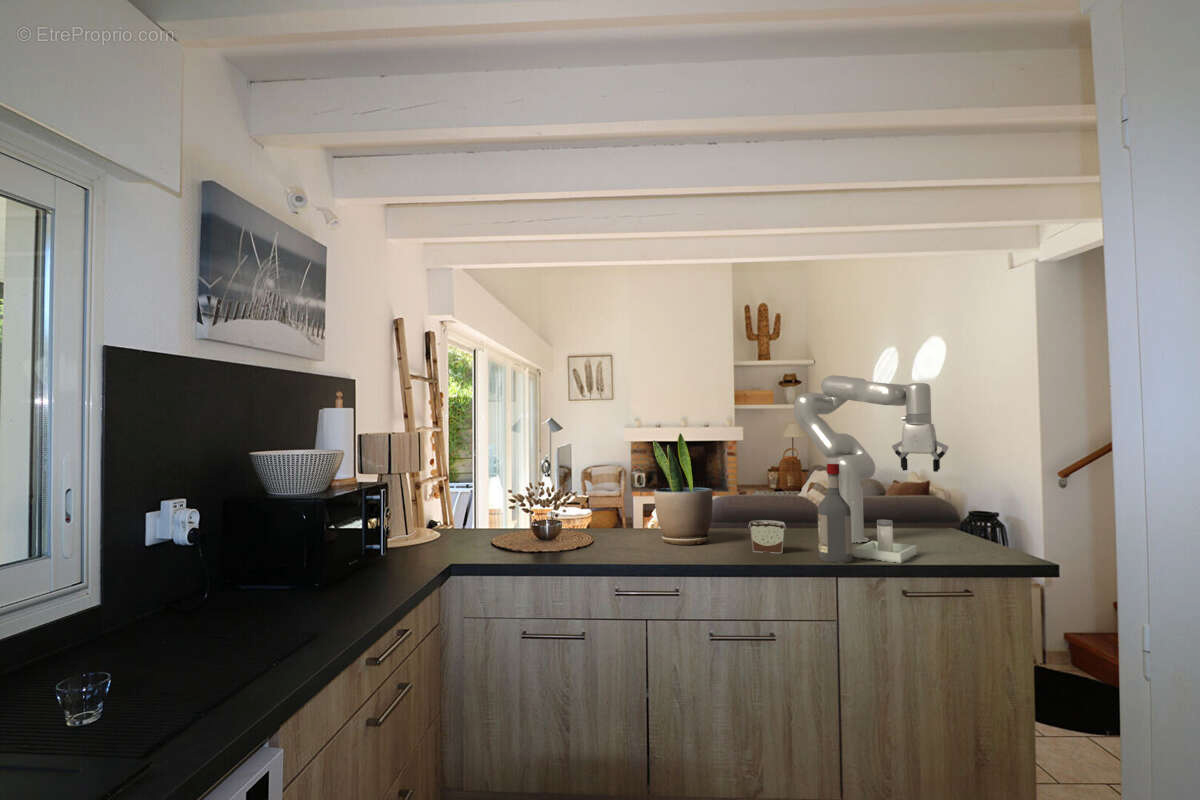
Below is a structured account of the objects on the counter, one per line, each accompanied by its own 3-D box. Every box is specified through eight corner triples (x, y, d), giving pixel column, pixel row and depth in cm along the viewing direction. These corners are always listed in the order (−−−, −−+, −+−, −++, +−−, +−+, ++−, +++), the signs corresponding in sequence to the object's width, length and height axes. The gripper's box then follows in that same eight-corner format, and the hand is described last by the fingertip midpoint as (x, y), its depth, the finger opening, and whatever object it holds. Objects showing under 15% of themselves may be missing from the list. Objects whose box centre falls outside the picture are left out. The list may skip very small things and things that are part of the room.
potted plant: (645, 538, 237) (644, 433, 239) (696, 535, 243) (695, 432, 246) (668, 548, 217) (667, 432, 219) (724, 544, 223) (722, 432, 226)
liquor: (848, 558, 199) (846, 463, 201) (853, 563, 190) (850, 464, 192) (818, 556, 201) (816, 463, 203) (821, 562, 192) (819, 464, 194)
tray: (853, 557, 200) (853, 548, 200) (872, 549, 213) (872, 540, 213) (900, 563, 190) (900, 553, 190) (916, 554, 204) (916, 545, 204)
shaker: (875, 553, 202) (874, 520, 202) (880, 551, 205) (879, 519, 206) (890, 555, 199) (890, 521, 199) (895, 553, 202) (894, 520, 203)
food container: (787, 550, 212) (787, 520, 213) (786, 553, 206) (786, 523, 207) (750, 548, 216) (749, 519, 217) (748, 551, 210) (748, 521, 211)
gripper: (888, 420, 214) (889, 470, 213) (943, 419, 202) (945, 472, 201) (895, 420, 219) (897, 469, 218) (950, 419, 207) (952, 471, 206)
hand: (920, 470), depth 209 cm, fingers open, 9 cm apart
